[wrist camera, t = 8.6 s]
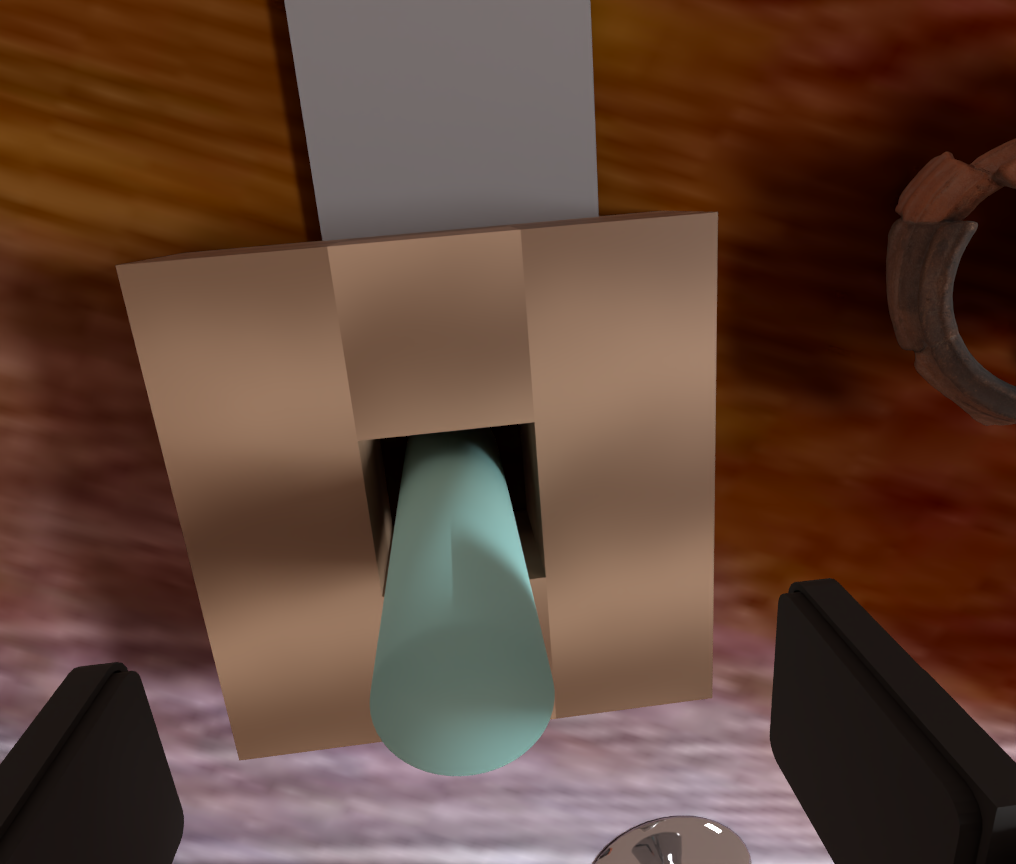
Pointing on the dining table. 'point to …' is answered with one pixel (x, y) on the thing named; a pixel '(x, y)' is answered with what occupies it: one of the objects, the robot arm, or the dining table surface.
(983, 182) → the brown hollow rounded piece
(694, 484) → the hole block
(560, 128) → the mat
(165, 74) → the dining table surface
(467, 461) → the peg
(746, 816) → the dining table surface
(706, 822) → the wine glass
